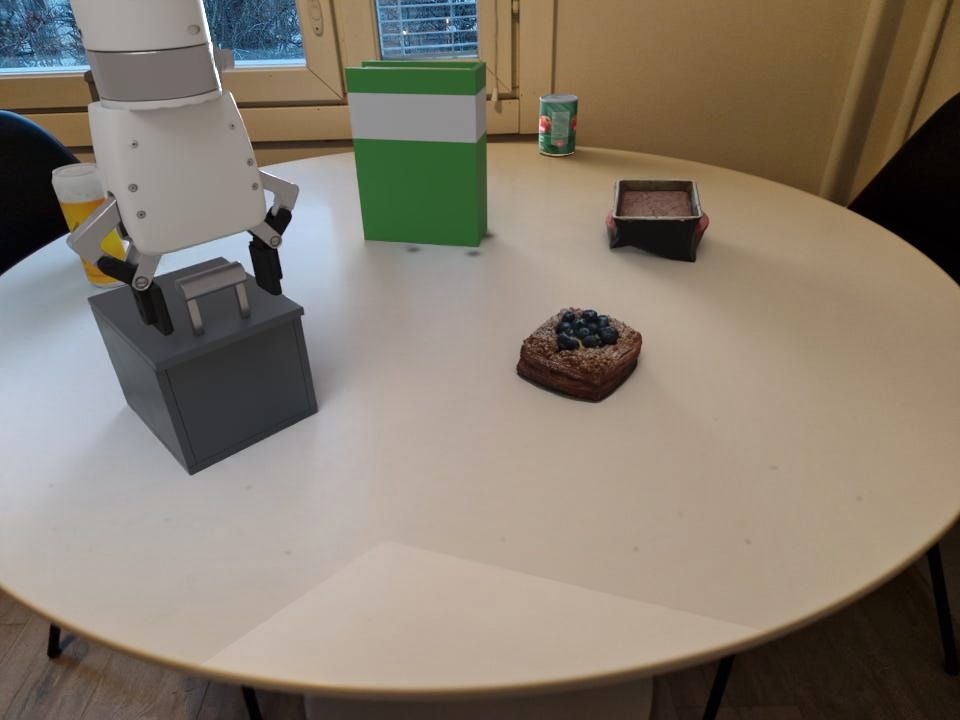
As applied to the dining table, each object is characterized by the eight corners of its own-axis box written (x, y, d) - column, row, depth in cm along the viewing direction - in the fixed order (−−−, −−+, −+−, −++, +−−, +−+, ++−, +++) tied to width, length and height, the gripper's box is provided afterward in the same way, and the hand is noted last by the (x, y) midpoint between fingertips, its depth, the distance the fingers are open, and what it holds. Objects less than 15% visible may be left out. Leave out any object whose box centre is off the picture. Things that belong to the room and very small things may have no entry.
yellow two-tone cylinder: (93, 274, 89) (52, 165, 81) (141, 267, 91) (106, 159, 83) (87, 292, 84) (44, 178, 76) (138, 285, 86) (101, 172, 78)
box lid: (305, 314, 56) (294, 254, 53) (157, 372, 48) (135, 306, 45) (223, 263, 65) (210, 209, 62) (89, 305, 58) (67, 246, 55)
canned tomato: (582, 153, 138) (586, 98, 132) (552, 158, 134) (554, 102, 128) (560, 145, 143) (563, 92, 137) (530, 150, 140) (532, 96, 134)
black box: (318, 411, 62) (300, 312, 56) (190, 475, 55) (153, 369, 49) (246, 354, 71) (223, 264, 65) (127, 403, 64) (89, 306, 58)
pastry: (504, 377, 66) (504, 327, 63) (558, 328, 75) (561, 282, 72) (602, 412, 61) (608, 360, 58) (649, 355, 70) (657, 306, 66)
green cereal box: (364, 239, 98) (344, 68, 86) (380, 222, 105) (363, 60, 92) (478, 246, 95) (475, 70, 83) (487, 228, 102) (485, 62, 89)
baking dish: (593, 270, 93) (603, 208, 86) (611, 210, 105) (621, 152, 98) (696, 289, 90) (715, 225, 83) (702, 225, 102) (719, 165, 96)
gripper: (251, 56, 50) (290, 263, 59) (-8, 87, 40) (88, 331, 49) (303, 65, 45) (336, 288, 55) (24, 103, 35) (123, 369, 45)
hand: (218, 308), depth 52 cm, fingers open, 8 cm apart
